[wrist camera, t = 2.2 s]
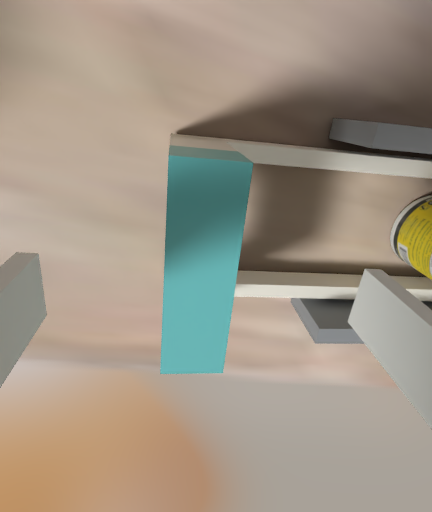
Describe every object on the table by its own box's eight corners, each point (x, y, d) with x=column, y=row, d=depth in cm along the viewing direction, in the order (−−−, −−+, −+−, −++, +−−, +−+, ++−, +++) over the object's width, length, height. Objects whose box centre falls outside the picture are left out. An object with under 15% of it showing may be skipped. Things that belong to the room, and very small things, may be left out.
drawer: (165, 280, 23) (160, 373, 15) (170, 133, 19) (168, 155, 11) (452, 288, 27) (572, 368, 19) (510, 166, 23) (696, 201, 15)
